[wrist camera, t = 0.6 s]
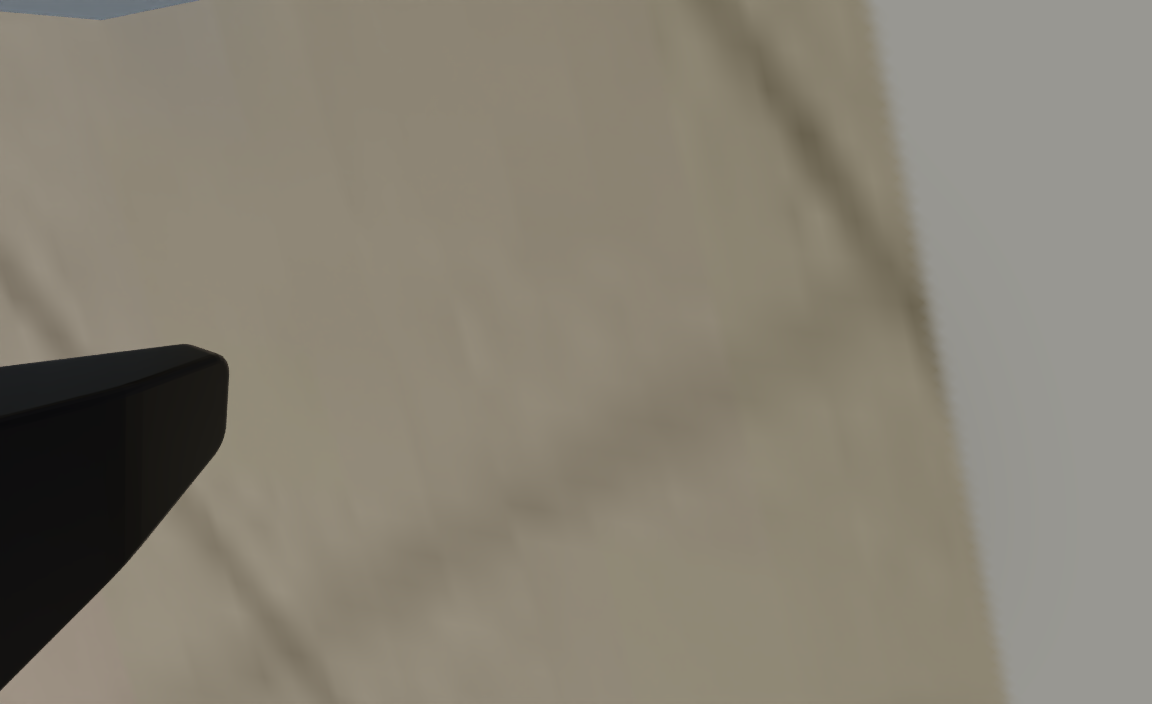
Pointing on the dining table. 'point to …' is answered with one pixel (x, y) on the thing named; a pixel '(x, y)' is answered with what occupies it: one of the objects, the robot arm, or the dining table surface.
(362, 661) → the dining table surface
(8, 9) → the pillar block
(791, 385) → the dining table surface
